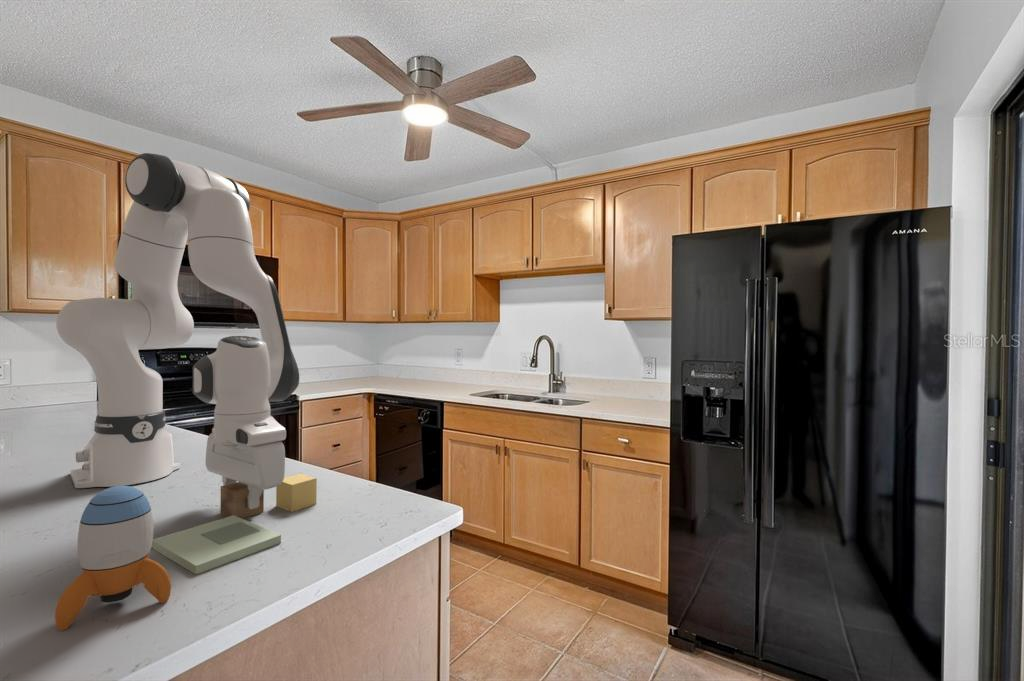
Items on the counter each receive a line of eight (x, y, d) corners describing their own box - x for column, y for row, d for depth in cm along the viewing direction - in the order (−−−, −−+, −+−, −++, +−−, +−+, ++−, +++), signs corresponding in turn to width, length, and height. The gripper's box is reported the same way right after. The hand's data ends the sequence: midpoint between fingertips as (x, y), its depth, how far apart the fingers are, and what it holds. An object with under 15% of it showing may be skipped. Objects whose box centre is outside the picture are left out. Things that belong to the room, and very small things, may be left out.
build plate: (151, 547, 72) (151, 539, 72) (233, 522, 83) (233, 514, 83) (196, 574, 65) (196, 564, 65) (280, 542, 75) (280, 534, 75)
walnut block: (220, 514, 86) (220, 486, 86) (248, 506, 90) (248, 479, 90) (235, 520, 83) (235, 491, 83) (263, 511, 87) (263, 484, 87)
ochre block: (276, 506, 90) (276, 479, 90) (300, 498, 95) (300, 473, 95) (292, 512, 88) (292, 484, 88) (316, 504, 92) (316, 478, 92)
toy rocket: (98, 593, 62) (132, 474, 64) (184, 604, 63) (215, 487, 65) (28, 630, 52) (71, 487, 54) (132, 643, 53) (170, 502, 55)
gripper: (195, 423, 89) (195, 497, 90) (256, 437, 78) (255, 522, 79) (231, 418, 95) (230, 488, 95) (292, 431, 84) (291, 510, 84)
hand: (242, 503), depth 87 cm, fingers closed on walnut block, 5 cm apart
